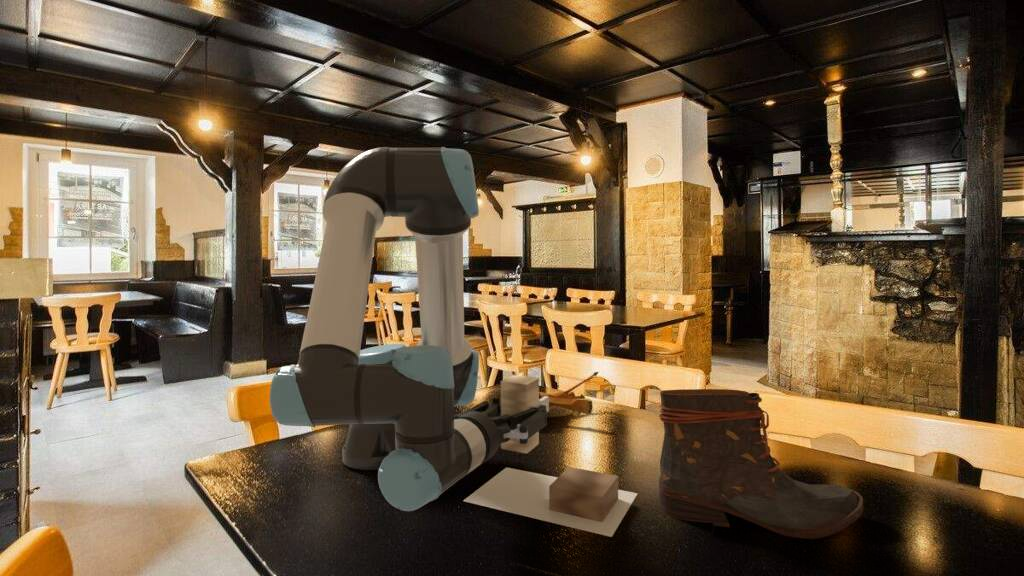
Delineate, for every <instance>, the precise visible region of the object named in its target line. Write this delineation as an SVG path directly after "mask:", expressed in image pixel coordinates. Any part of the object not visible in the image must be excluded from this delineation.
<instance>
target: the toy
mask: <svg viewBox="0 0 1024 576" xmlns="http://www.w3.org/2000/svg"><path fill="white" fill-rule="evenodd" d="M598 374H599V371H596V372H595V371H594V372H593V373H592V375H590V376H589V377H587V378H586V379H585V380H582V381H580V382H579V383H578V384H576V385H574V386H572V387H571V388H569V389H568V390H565V391H562V392H556V393H553V394H550V393H546V392H542V391H539V399H541V398H543V397H544V396H549V410H550V409H552V408H554V407H559V408H563V409H566V410H569V411H571V413H572V415H573V416H574V417H579V416H580V415H581V414H582V413H583V414H585V415H586V414H591V413H592V412H593V409H594V408H593V400H592V399H590V398H586V397H585V395H583V394H582V393H581V394H580V395H575V392H574V390H575V389H577V388H578V387H580V386H581V385H583V384H584V383H586V382H587V381H589V380H590V379H592V378H593V377H596V376H597V375H598Z"/></svg>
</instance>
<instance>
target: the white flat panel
mask: <svg viewBox="0 0 1024 576" xmlns="http://www.w3.org/2000/svg"><path fill="white" fill-rule="evenodd" d="M557 478H558V477H557V476H551V475H546V474H541V473H538V472H532V471H527V470H521V469H516V468H512V467H511V468H510V467H505V468H503V470H501V471H500V472H498V473H497V474H496V475H494V476H493V477H492V478H491V479H489V480H488V481H487V482H485V483H484V484H483V485H481V486H480V487H479V488H478V489H476V490H475V491H474V492H473V493H471V494H470V495H469V496H467V497H466V498H465V499H464V500H462V501H463V502H465V503H470V504H473V505H476V506H477V505H478V506H482V507H487V508H490V509H493V510H497V511H503V512H507V513H510V514H514V515H519V516H523V517H528V518H531V519H536V520H540V521H543V522H547V523H552V524H556V525H560V526H564V527H569V528H572V529H578V530H580V531H584V532H588V533H589V532H590V533H594V534H596V535H597V534H599V535H602V536H605V537H610V538H612V537H613V535H614V534H615V533H616V531H617V529H618V527H619V525H620V524H621V522H622V520H623V519H624V517H625V516H626V514H627V512H628V511H629V509H630V507H631V506H632V504H633V503H634V501H635V500H636V497H637V495H638V494H639V493H637V492H632V491H627V490H622V489H618V500H617V501H616V503H615V504H614V506H613V507H612V509H611V510H610V512H609V513H608V515H607V516H606V518H605V519H604V521H603V522H599V521H594V520H590V519H586V518H581V517H577V516H573V515H568V514H564V513H560V512H555V511H551V510H549V486H550V485H551V484H552V483H553V482H554V481H555V480H556V479H557Z"/></svg>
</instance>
